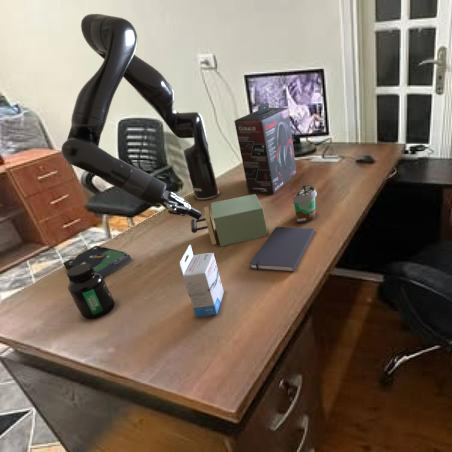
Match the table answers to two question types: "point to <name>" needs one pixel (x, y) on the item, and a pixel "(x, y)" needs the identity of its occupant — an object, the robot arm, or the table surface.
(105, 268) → the disk drive
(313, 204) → the food container
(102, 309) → the supplement bottle
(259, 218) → the cabinet
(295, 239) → the notebook
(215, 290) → the ink box
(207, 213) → the drawer
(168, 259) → the table surface
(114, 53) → the robot arm
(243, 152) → the headset box
